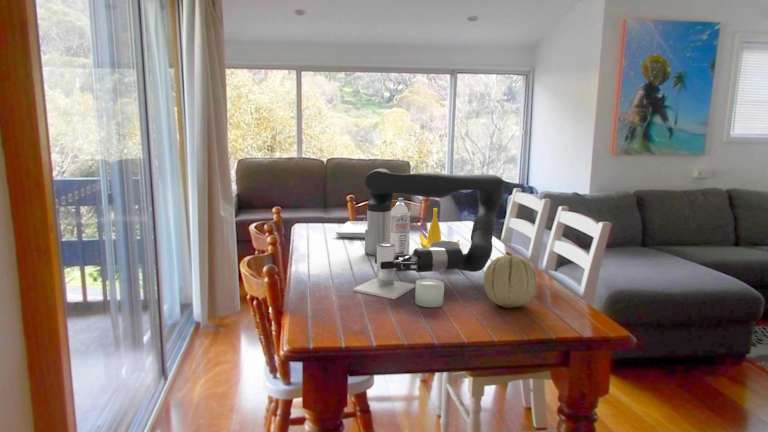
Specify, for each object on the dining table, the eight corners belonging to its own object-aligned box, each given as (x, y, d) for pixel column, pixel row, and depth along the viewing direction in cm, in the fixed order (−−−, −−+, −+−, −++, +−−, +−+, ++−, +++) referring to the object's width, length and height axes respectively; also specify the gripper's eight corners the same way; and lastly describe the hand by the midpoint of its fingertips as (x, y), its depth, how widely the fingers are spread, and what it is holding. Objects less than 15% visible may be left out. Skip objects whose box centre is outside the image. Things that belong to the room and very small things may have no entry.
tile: (353, 291, 155) (353, 288, 154) (376, 279, 167) (376, 277, 167) (394, 299, 148) (394, 296, 148) (415, 286, 160) (415, 284, 160)
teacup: (458, 269, 180) (459, 247, 179) (427, 267, 183) (428, 245, 181) (460, 260, 194) (461, 239, 193) (431, 258, 196) (432, 237, 195)
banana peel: (420, 252, 205) (422, 211, 203) (419, 242, 224) (420, 204, 221) (462, 253, 205) (463, 212, 202) (456, 243, 224) (458, 205, 221)
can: (373, 284, 156) (373, 245, 154) (382, 279, 161) (382, 241, 159) (389, 287, 153) (389, 247, 151) (398, 282, 158) (398, 243, 156)
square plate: (347, 227, 254) (347, 220, 253) (402, 230, 250) (402, 222, 250) (335, 239, 227) (335, 230, 227) (396, 242, 224) (396, 233, 223)
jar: (415, 306, 141) (416, 285, 140) (414, 298, 149) (415, 278, 148) (444, 307, 141) (445, 286, 140) (441, 299, 149) (442, 279, 148)
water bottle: (411, 267, 183) (413, 197, 178) (405, 272, 176) (407, 200, 172) (393, 265, 185) (394, 196, 181) (386, 269, 178) (388, 199, 174)
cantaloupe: (502, 318, 134) (505, 263, 132) (471, 301, 148) (474, 250, 145) (546, 311, 140) (551, 258, 138) (513, 295, 154) (516, 246, 151)
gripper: (422, 242, 166) (371, 245, 161) (438, 253, 152) (384, 256, 148) (421, 265, 167) (371, 268, 163) (438, 277, 154) (384, 281, 149)
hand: (378, 263), depth 155 cm, fingers closed on can, 5 cm apart
